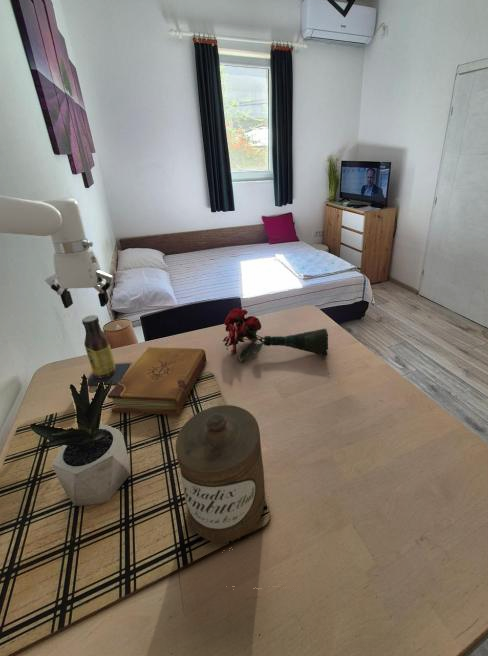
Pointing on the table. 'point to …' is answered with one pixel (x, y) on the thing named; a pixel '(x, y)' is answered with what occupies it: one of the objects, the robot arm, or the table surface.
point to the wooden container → (222, 472)
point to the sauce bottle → (98, 348)
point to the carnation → (250, 325)
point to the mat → (115, 376)
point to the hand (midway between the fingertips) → (86, 305)
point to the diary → (158, 381)
